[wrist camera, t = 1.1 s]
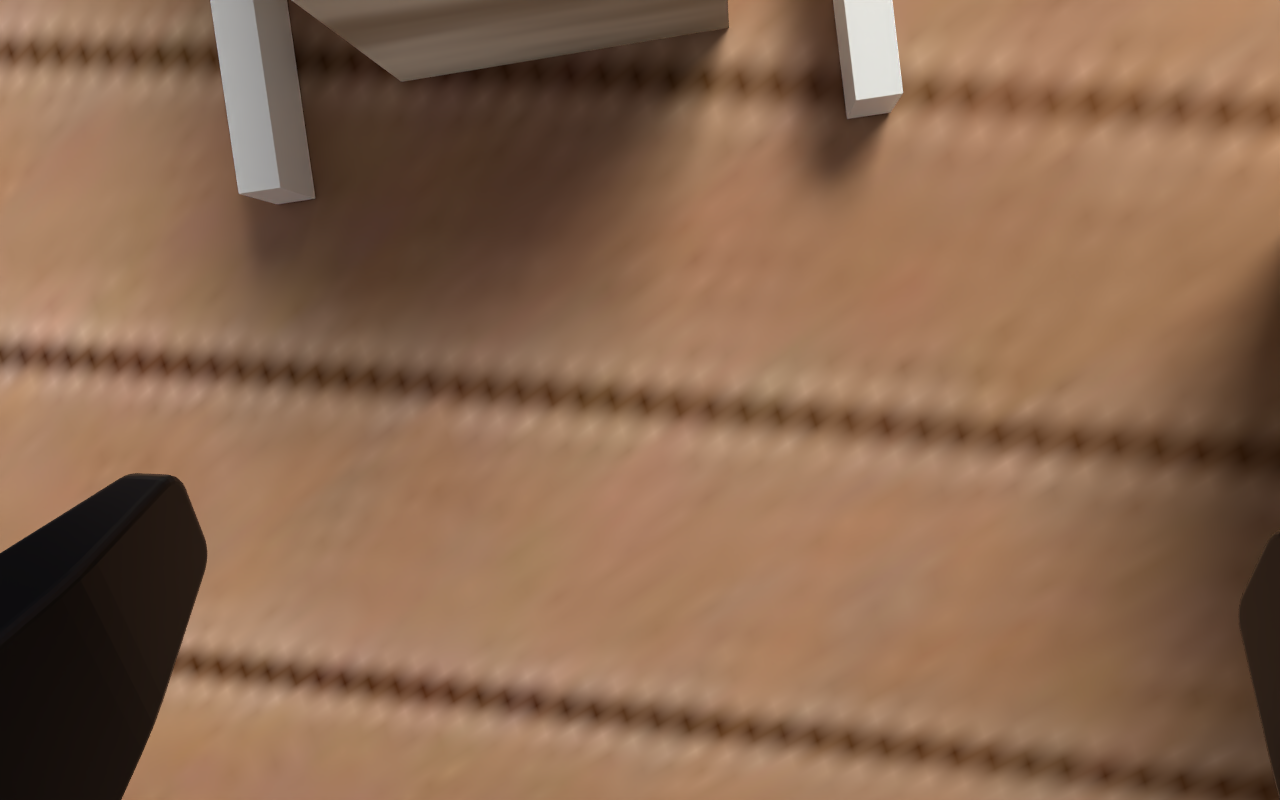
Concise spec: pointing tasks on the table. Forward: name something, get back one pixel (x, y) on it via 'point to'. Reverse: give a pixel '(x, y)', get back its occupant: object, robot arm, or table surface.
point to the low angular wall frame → (274, 113)
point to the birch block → (503, 29)
